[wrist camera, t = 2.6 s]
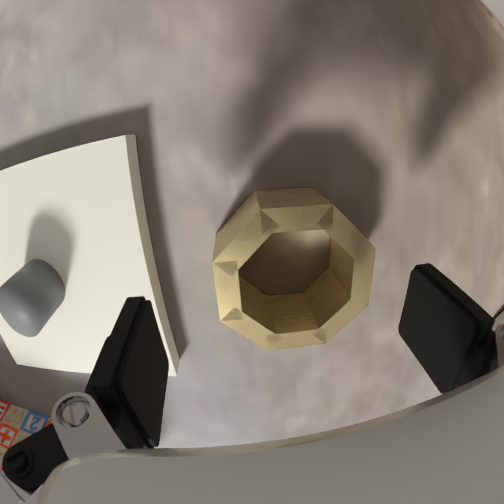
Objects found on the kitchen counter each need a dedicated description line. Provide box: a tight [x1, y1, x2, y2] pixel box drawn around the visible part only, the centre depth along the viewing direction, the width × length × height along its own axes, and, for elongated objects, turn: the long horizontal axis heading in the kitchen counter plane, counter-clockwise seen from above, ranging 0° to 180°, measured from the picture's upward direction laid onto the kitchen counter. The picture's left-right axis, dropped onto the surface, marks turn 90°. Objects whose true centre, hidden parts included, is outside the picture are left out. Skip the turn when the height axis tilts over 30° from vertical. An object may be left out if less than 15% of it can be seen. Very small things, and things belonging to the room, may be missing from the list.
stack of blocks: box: [0, 400, 53, 472], centre depth 17 cm, size 21×6×12 cm, turn 88°
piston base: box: [0, 134, 180, 376], centre depth 13 cm, size 14×14×4 cm
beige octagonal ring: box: [212, 188, 376, 351], centre depth 14 cm, size 7×7×4 cm
